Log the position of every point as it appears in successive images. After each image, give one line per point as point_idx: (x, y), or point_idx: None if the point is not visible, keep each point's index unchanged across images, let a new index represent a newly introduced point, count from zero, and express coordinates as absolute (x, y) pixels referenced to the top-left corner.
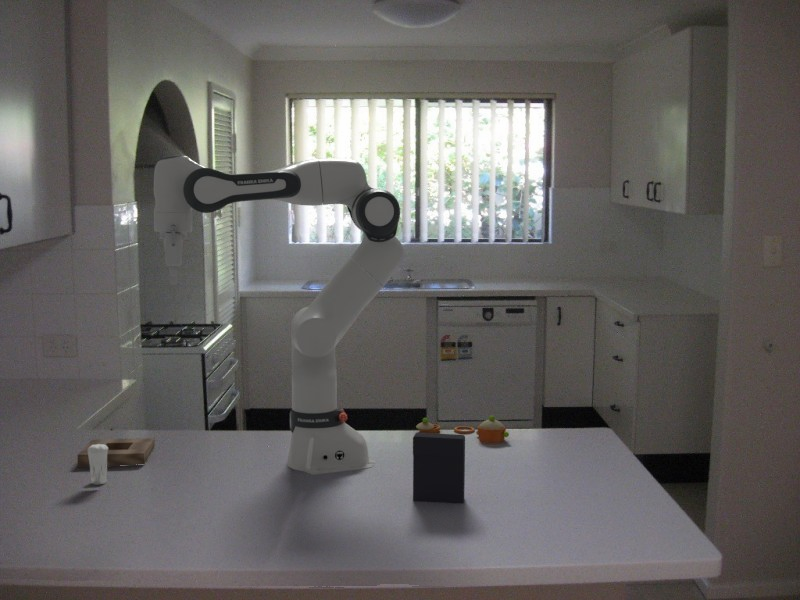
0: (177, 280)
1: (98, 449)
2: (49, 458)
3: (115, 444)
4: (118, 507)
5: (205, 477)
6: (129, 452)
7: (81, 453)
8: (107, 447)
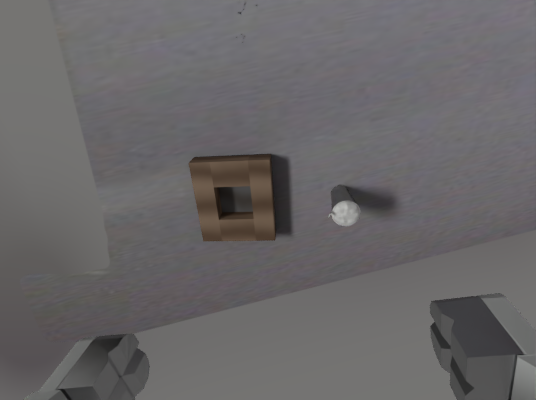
0: (525, 321)
1: (359, 211)
2: (237, 268)
3: (217, 208)
4: (446, 145)
5: (330, 48)
6: (265, 180)
7: (269, 237)
8: (347, 202)
